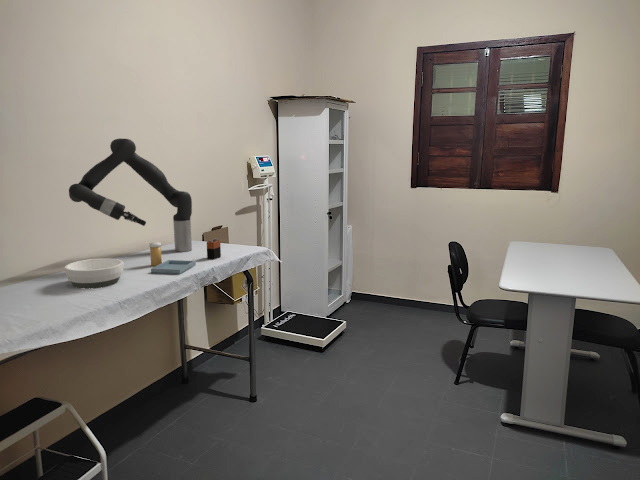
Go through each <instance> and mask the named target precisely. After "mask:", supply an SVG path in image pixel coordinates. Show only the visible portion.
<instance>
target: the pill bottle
mask: <svg viewBox="0 0 640 480" xmlns="http://www.w3.org/2000/svg"><path fill="white" fill-rule="evenodd" d="M148 244H149V245H148V246H149V252H150V255H149V256H150V266H151V267H155V266H157V265H159V264H161V263H163V261H162V242H160V241H157V242H156V241H153V242H150V243H148Z"/></svg>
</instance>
